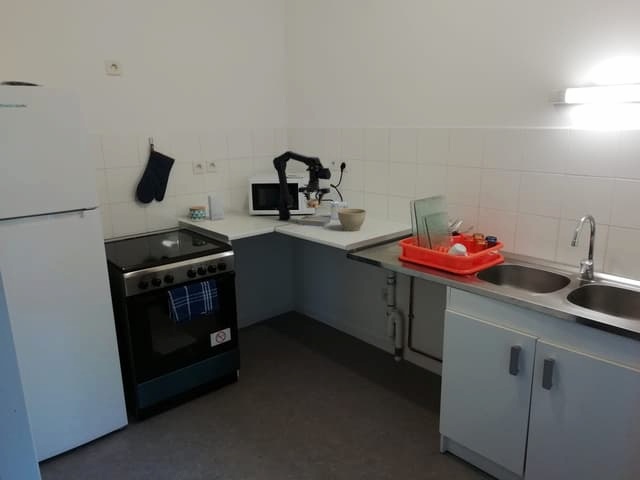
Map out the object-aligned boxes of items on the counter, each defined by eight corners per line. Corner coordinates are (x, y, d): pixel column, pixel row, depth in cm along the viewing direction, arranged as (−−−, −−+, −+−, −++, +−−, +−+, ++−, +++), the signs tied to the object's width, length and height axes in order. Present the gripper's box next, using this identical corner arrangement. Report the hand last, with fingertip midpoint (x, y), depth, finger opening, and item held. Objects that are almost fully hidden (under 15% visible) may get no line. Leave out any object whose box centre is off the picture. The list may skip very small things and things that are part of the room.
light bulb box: (347, 217, 321) (347, 201, 318) (347, 219, 314) (347, 203, 311) (331, 217, 322) (331, 201, 319) (330, 219, 315) (330, 202, 312)
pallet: (306, 207, 297) (306, 201, 296) (312, 205, 306) (312, 198, 306) (316, 208, 295) (316, 201, 294) (321, 205, 305) (321, 199, 304)
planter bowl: (345, 225, 298) (345, 207, 295) (370, 228, 290) (370, 210, 287) (332, 230, 284) (332, 211, 282) (357, 233, 276) (358, 214, 274)
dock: (298, 224, 300) (298, 219, 299) (305, 220, 312) (305, 215, 311) (323, 226, 295) (323, 220, 294) (330, 222, 307) (330, 216, 306)
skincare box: (221, 217, 322) (220, 193, 318) (224, 219, 316) (223, 195, 313) (208, 218, 318) (207, 194, 314) (211, 220, 313) (210, 196, 309)
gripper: (294, 179, 292) (294, 205, 296) (324, 180, 286) (324, 207, 290) (301, 177, 303) (301, 202, 306) (330, 178, 297) (330, 204, 300)
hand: (314, 204), depth 301 cm, fingers closed on pallet, 6 cm apart
